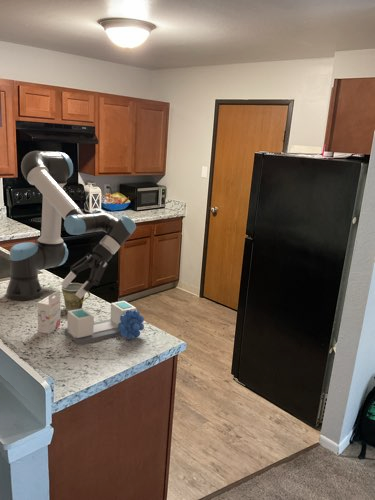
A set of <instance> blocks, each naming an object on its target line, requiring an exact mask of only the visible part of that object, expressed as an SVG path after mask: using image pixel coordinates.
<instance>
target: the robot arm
mask: <svg viewBox="0 0 375 500" xmlns="http://www.w3.org/2000/svg"><path fill="white" fill-rule="evenodd" d="M20 164H21V165H20V169H21V173H22V175H23V177H24V179H25V180H26V181H27V182H28V183H29V185H31V186H35V188H36V189H37V190H38V191H39V192H40V194H42V203H41V204H42V209H41V229H40V230H41V233H40V236H39V237H38V238H37V243H35V242H32V241H29V242H21V243H17V244H14V245H12V247H10V249H9V270H10V272H9V273H10V274H9V275H10V276H9V277H10V280H9V283H8V285H7V288H6V290H5V291H6V292H5V293H6V297H7V298H8V299H10V300H13V301H15V300H16V301H28V300H29V301H30V300H35V299H37V298H40V297H41V296H42V295H43V289H42V285H41V284H40V280H39V274H38V273H39V271H42V270H46V269H50V268H57V267H60V266H62V265H64V264H65V263H66V261H67V260H68V257H69V250H68V248H67V244H66V243H65V242H64V239H63V238H62V237H61V235H62V233H61V231H62V230H61V229H62V219H63V220H64V222H63V227H64V229H65V231H66V233H67V234H69V235H73V236H75V235H76V236H79V235H85V234H90V233H97V232H104V233H106V234H105V235H104V236H103V238H102V239H100V241H99V243H98V244H96V246H94V248H93V249H92V252H93V254H91V253H90V252H88V253H87V254H86V255H84V256H83V257H82V258H80V259H79V260H78V261H77V262H75V263H73V265H71V266H70V267H69V269H70V272H69V273H68V274H67V275H66V277H65V278H63V280H62V281H61V282H60V283H59V285H60V286H61V287H62V286H63V287H64V288H66V287H67V286H68V285H69V284H70V283H72V281H73V280H74V279H75V278H76V277H77V276H78V274H79V273H80V272H82V271H85V270H86V269H91V270H90V275H89V278H88V279H87V280H86V281H85V282H84V283H82V284H83V286H82V287H81V288H80V289H79V290H78V292H77V293H76V294H75V295H76V296H78V297H79V298H80V299H81V298H82V297H83V296H84V297H85V294H86V293H87V291H89V290H90V289H91V288H92V287H93V286H99V284H100V282H101V279H102V278H103V275H104V272H105V270H106V269H107V267H108V266H109V264H108V262H109V261H110V260H111V259H112V258H113V255H116V253H117V252H118V251H119V249H120V248H121V247H122V245H123V244H124V243H125V242H126V241H127V240H128V239H129V238H130V237H131V236H132V234H134V232H135V230H136V229H137V224H136V223H135V222H134V220H133V219H132V218H130V217H128V215H122V216H121V217H119V218H118V217H116V216H115V215H113V214H111V213H109V212H108V211H106V210H104V209H102V208H96V209H95V210H93V211H92V212H91V213H84V211H83V210H81V208H80V207H79V206H78V204H77V203H76V202H75V201H74V200H73V199H72V198H71V197H70V195H68V194H67V192H66V191H65V190H64V186H65V185H67V183H68V179H69V178H70V177H72V175H73V173H74V164H73V162H72V159H71V158H70V156H69V155H68V154H66V153H65V152H61V151H50V150H48V151H47V150H33V151H30V152H28V153H26V154H25V155H24V156H23V158H22V161H21V163H20Z"/></svg>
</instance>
